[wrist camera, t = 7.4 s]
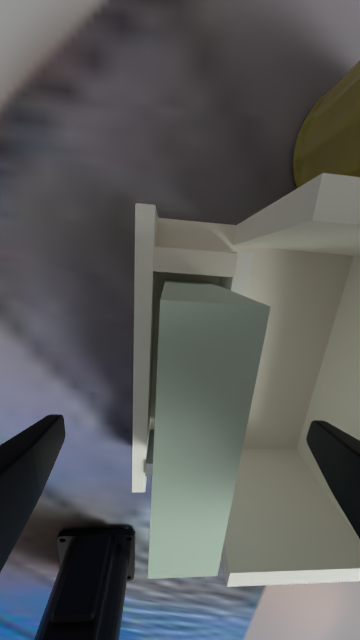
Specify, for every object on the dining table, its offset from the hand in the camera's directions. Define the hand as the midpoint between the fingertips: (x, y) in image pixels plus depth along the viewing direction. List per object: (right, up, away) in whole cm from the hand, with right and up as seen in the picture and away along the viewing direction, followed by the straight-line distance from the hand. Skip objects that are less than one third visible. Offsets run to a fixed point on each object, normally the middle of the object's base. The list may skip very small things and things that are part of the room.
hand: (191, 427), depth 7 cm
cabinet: (+3, +1, +6) cm, 7 cm away
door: (0, +1, +5) cm, 5 cm away
